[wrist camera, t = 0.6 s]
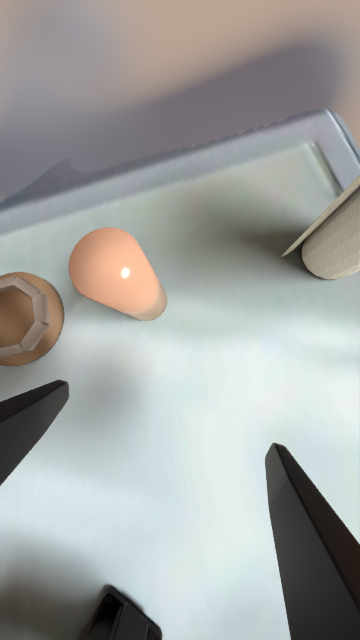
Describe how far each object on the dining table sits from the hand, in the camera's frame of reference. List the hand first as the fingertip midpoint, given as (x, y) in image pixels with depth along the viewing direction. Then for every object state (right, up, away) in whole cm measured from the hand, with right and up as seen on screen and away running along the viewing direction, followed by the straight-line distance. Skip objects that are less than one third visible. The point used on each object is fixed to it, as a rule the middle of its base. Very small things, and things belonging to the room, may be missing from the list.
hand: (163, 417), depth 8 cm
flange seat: (-19, +4, +15) cm, 24 cm away
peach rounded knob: (-3, +6, +14) cm, 16 cm away
